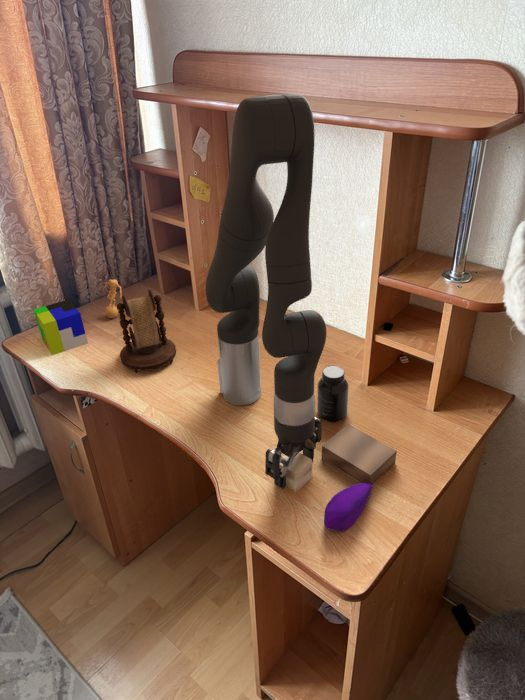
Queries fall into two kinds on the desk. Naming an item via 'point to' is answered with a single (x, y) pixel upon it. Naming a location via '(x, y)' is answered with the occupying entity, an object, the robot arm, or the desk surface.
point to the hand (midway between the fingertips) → (294, 473)
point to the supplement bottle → (332, 394)
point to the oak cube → (298, 471)
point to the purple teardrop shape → (347, 507)
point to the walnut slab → (358, 455)
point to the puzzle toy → (61, 326)
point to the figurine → (111, 309)
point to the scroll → (144, 334)
